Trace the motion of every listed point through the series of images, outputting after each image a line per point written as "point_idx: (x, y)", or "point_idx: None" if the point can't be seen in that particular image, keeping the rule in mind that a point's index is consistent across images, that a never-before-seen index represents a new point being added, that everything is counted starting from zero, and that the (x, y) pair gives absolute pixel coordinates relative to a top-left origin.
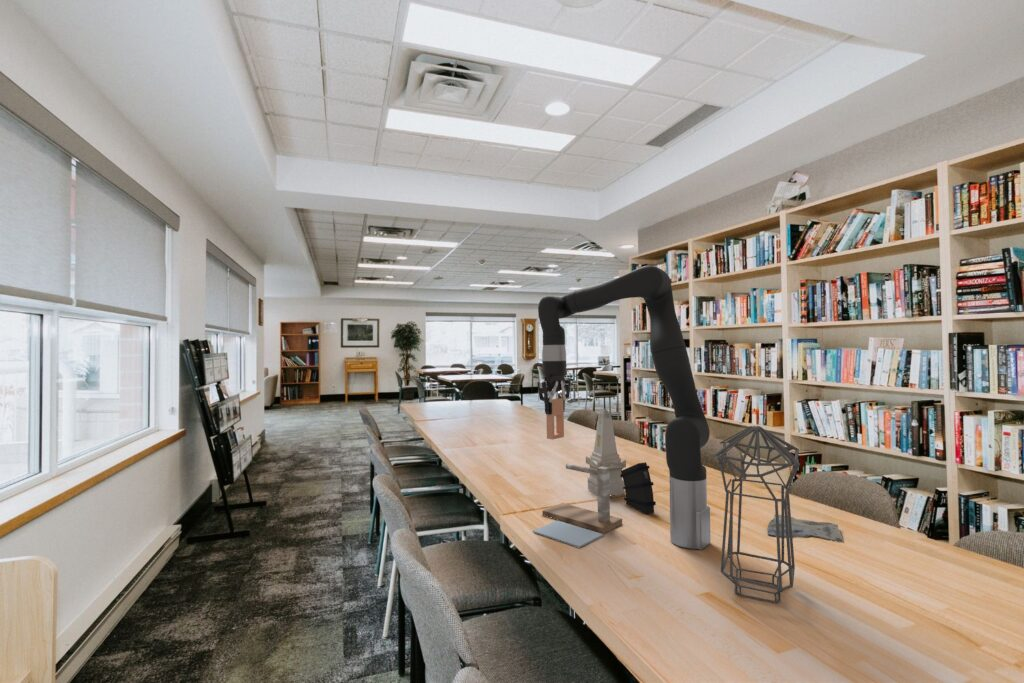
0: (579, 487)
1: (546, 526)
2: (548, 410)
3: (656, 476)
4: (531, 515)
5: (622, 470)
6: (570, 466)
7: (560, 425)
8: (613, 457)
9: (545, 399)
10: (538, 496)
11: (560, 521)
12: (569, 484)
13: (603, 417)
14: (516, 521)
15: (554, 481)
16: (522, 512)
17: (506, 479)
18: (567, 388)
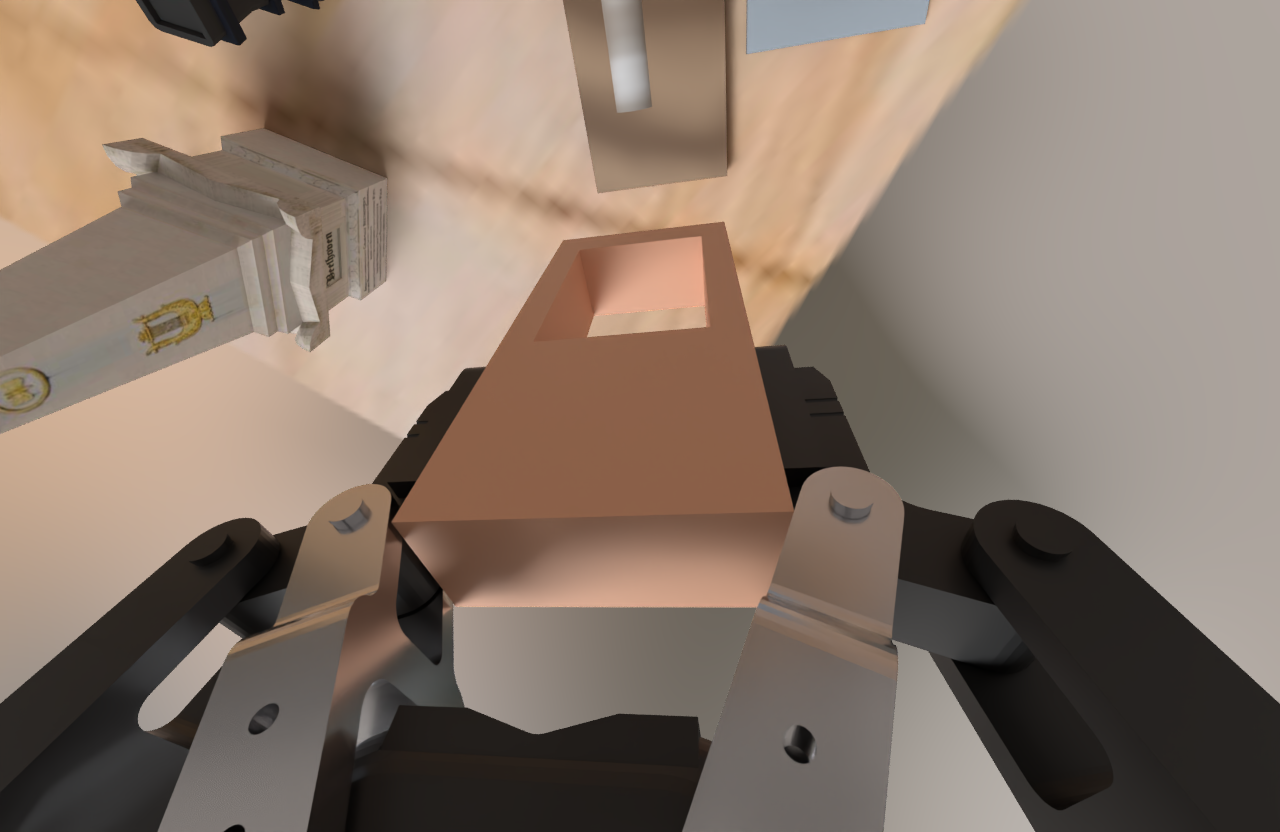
0: (402, 318)
1: (842, 22)
2: (829, 388)
3: (9, 214)
4: (754, 203)
5: (203, 20)
6: (644, 57)
7: (570, 301)
8: (173, 205)
9: (1091, 533)
10: None
11: (748, 29)
12: (418, 361)
13: None
14: (844, 190)
15: None
16: (751, 252)
17: None
18: (40, 768)
